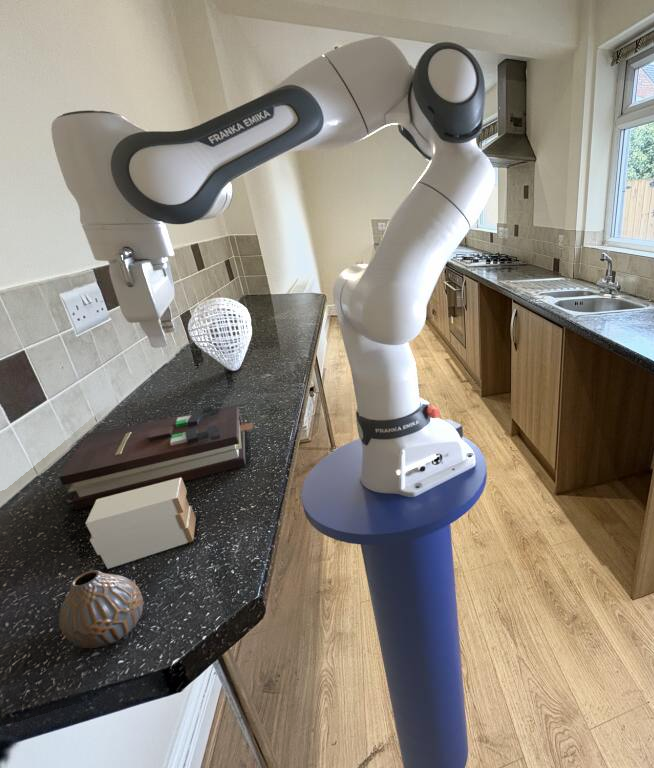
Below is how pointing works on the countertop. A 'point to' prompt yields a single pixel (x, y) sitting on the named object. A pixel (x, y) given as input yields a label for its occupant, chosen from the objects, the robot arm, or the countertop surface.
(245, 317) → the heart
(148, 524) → the beige rectangular block
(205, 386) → the countertop surface
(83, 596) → the vase
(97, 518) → the cream block
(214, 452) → the decorative book
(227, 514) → the countertop surface
